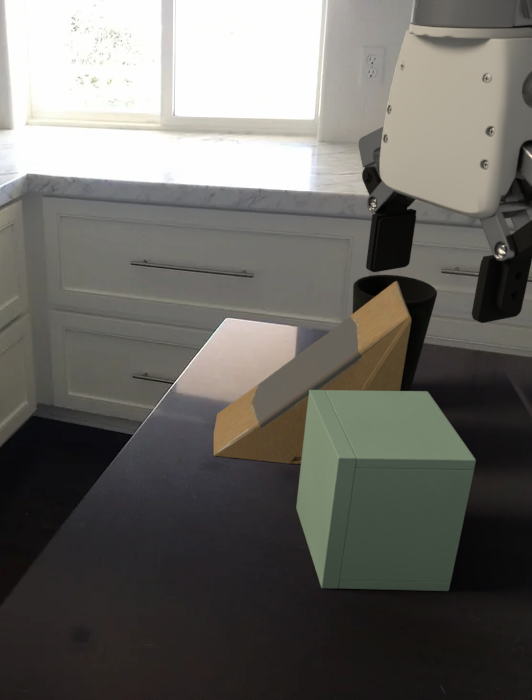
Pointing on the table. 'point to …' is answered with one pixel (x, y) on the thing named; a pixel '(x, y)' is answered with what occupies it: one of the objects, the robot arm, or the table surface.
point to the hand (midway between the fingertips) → (437, 291)
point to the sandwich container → (317, 381)
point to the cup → (418, 304)
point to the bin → (382, 490)
